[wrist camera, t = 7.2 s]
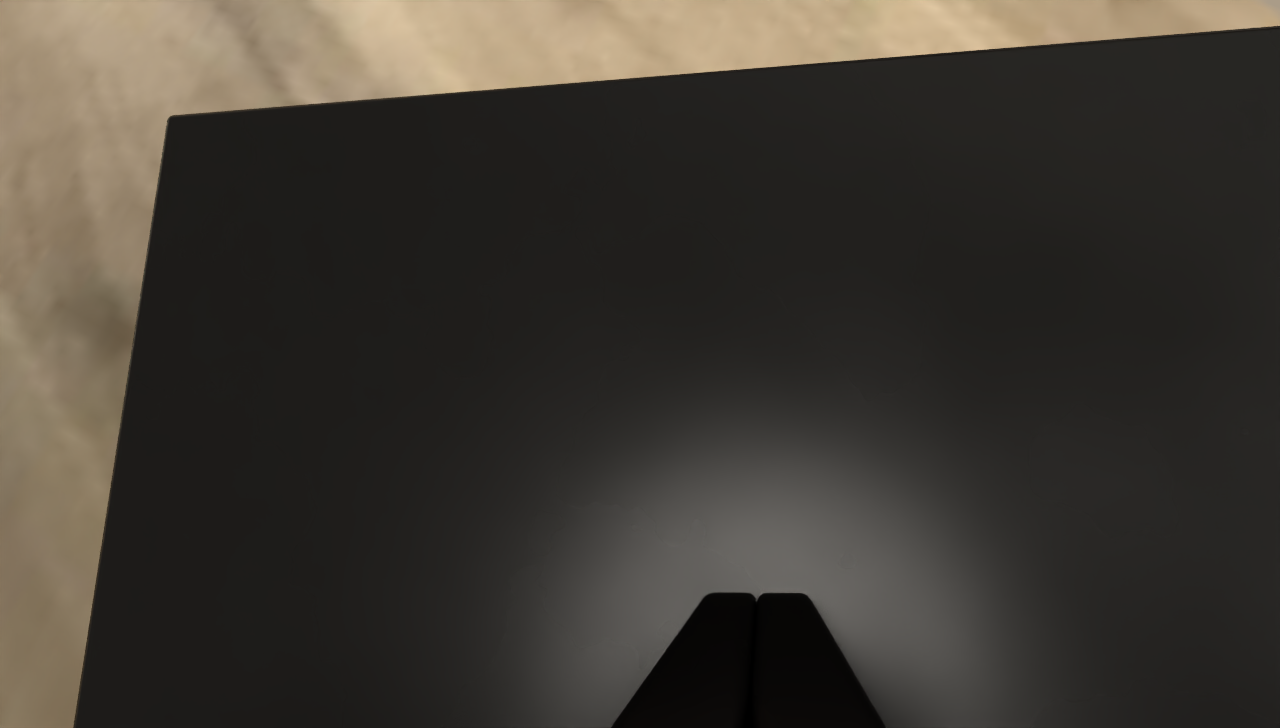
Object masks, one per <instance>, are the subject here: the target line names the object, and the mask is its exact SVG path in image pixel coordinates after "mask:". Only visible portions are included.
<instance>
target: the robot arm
mask: <svg viewBox="0 0 1280 728" xmlns="http://www.w3.org/2000/svg"><path fill="white" fill-rule="evenodd" d="M611 728H886V727H885V725H884V723H883V721H882V720H881V718H880V716H879V715H878V713H877V711H876V709H875V708H874V706H873V704H872V703H871V701H870V699H869V698H868V696H867V694H866V692H865V691H864V689H863V687H862V686H861V684H860V682H859V680H858V679H857V677H856V675H855V674H854V672H853V670H852V668H851V667H850V665H849V663H848V662H847V660H846V658H845V656H844V655H843V653H842V651H841V650H840V648H839V646H838V645H837V643H836V641H835V639H834V638H833V636H832V634H831V633H830V631H829V629H828V627H827V626H826V624H825V622H824V621H823V619H822V617H821V615H820V614H819V612H818V610H817V609H816V607H815V605H814V603H813V602H812V600H811V599H810V598H809V597H808V596H807V595H805V594H803V593H763V594H761V595H760V596H759V598H758V600H756V598H755V597H754V595H752V594H751V593H741V592H713V593H709V594H707V595H706V596H704V598H703V599H702V600H701V601H700V603H699V604H698V606H697V607H696V608H695V610H694V611H693V613H692V614H691V616H690V617H689V618H688V620H687V621H686V623H685V624H684V625H683V627H682V628H681V630H680V631H679V632H678V634H677V635H676V637H675V638H674V639H673V641H672V642H671V644H670V645H669V646H668V648H667V649H666V651H665V652H664V653H663V655H662V656H661V658H660V659H659V660H658V662H657V663H656V665H655V666H654V667H653V669H652V670H651V672H650V673H649V674H648V676H647V677H646V679H645V680H644V681H643V683H642V684H641V686H640V687H639V689H638V690H637V691H636V693H635V694H634V696H633V697H632V698H631V700H630V701H629V703H628V704H627V705H626V707H625V708H624V710H623V711H622V712H621V714H620V715H619V717H618V718H617V719H616V721H615V722H614V724H613V725H612V726H611Z"/></svg>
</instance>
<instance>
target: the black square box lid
mask: <svg viewBox="0 0 1280 728" xmlns="http://www.w3.org/2000/svg"><path fill="white" fill-rule="evenodd" d="M713 592H741V593H751V594H752V595H754V597H755V598H756V600H758V598H759V596H760V595H761V594H763V593H803V594H805V595H807V596H808V597H809V598H810V599H811V600H812V602H813V603H814V605H815V607H816V609H817V610H818V612H819V614H820V615H821V617H822V619H823V621H824V622H825V624H826V626H827V627H828V629H829V631H830V633H831V634H832V636H833V638H834V639H835V641H836V643H837V645H838V646H839V648H840V650H841V651H842V653H843V655H844V656H845V658H846V660H847V662H848V663H849V665H850V667H851V668H852V670H853V672H854V674H855V675H856V677H857V679H858V680H859V682H860V684H861V686H862V687H863V689H864V691H865V692H866V694H867V696H868V698H869V699H870V701H871V703H872V704H873V706H874V708H875V709H876V711H877V713H878V715H879V716H880V718H881V720H882V721H883V723H884V725H885V727H886V728H1280V26H1273V27H1261V28H1248V29H1236V30H1224V31H1211V32H1199V33H1187V34H1174V35H1162V36H1150V37H1137V38H1125V39H1112V40H1100V41H1088V42H1075V43H1063V44H1051V45H1038V46H1026V47H1014V48H1001V49H989V50H976V51H964V52H952V53H939V54H927V55H915V56H902V57H890V58H878V59H865V60H853V61H840V62H828V63H816V64H803V65H791V66H779V67H766V68H754V69H742V70H729V71H717V72H704V73H692V74H680V75H667V76H655V77H643V78H630V79H618V80H606V81H593V82H581V83H568V84H556V85H544V86H531V87H519V88H507V89H494V90H482V91H470V92H457V93H445V94H432V95H420V96H408V97H395V98H383V99H371V100H358V101H346V102H333V103H321V104H309V105H296V106H284V107H272V108H259V109H247V110H235V111H222V112H210V113H197V114H185V115H173V116H170V117H169V118H168V120H167V126H166V133H165V139H164V146H163V152H162V159H161V165H160V172H159V178H158V185H157V191H156V197H155V204H154V210H153V217H152V223H151V230H150V236H149V243H148V249H147V256H146V262H145V268H144V275H143V281H142V288H141V294H140V301H139V307H138V314H137V320H136V327H135V333H134V339H133V346H132V352H131V359H130V365H129V372H128V378H127V385H126V391H125V397H124V404H123V410H122V417H121V423H120V430H119V436H118V443H117V449H116V456H115V462H114V468H113V475H112V481H111V488H110V494H109V501H108V507H107V514H106V520H105V527H104V533H103V539H102V546H101V552H100V559H99V565H98V572H97V578H96V585H95V591H94V597H93V604H92V610H91V617H90V623H89V630H88V636H87V643H86V649H85V656H84V662H83V668H82V675H81V681H80V688H79V694H78V701H77V707H76V714H75V720H74V727H73V728H611V726H612V725H613V724H614V722H615V721H616V719H617V718H618V717H619V715H620V714H621V712H622V711H623V710H624V708H625V707H626V705H627V704H628V703H629V701H630V700H631V698H632V697H633V696H634V694H635V693H636V691H637V690H638V689H639V687H640V686H641V684H642V683H643V681H644V680H645V679H646V677H647V676H648V674H649V673H650V672H651V670H652V669H653V667H654V666H655V665H656V663H657V662H658V660H659V659H660V658H661V656H662V655H663V653H664V652H665V651H666V649H667V648H668V646H669V645H670V644H671V642H672V641H673V639H674V638H675V637H676V635H677V634H678V632H679V631H680V630H681V628H682V627H683V625H684V624H685V623H686V621H687V620H688V618H689V617H690V616H691V614H692V613H693V611H694V610H695V608H696V607H697V606H698V604H699V603H700V601H701V600H702V599H703V598H704V596H706V595H707V594H709V593H713Z"/></svg>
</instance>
